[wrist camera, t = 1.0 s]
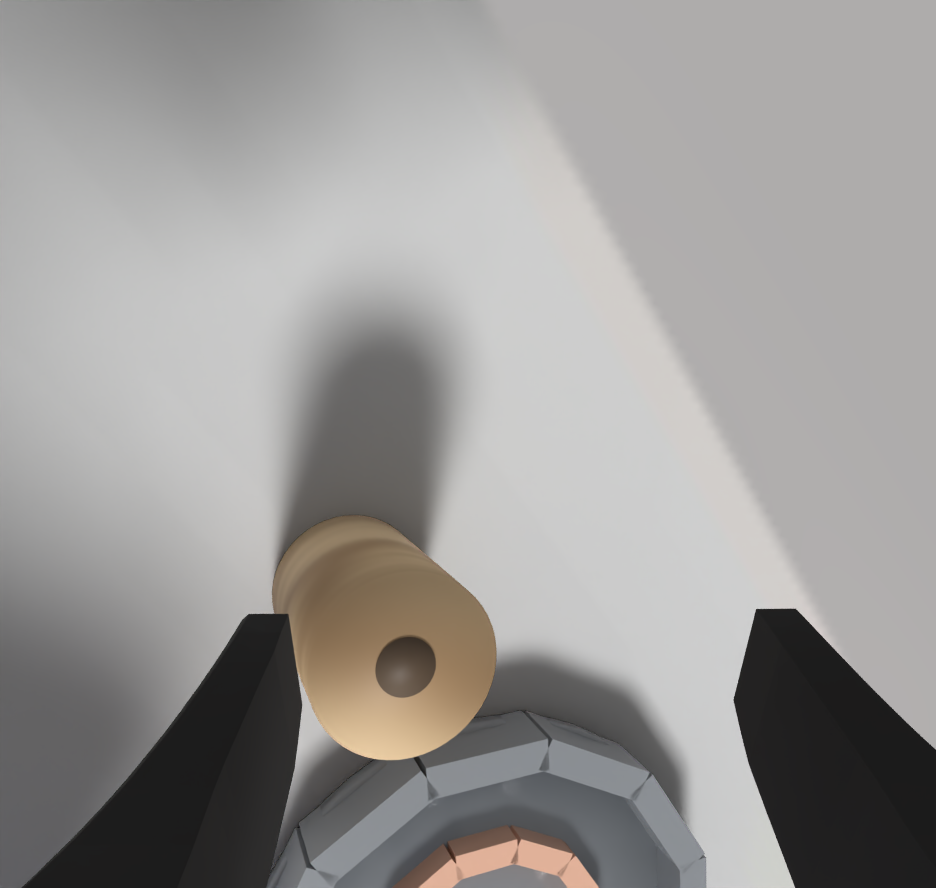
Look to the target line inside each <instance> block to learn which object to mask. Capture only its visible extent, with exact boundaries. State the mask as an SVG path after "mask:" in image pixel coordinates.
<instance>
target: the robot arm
mask: <svg viewBox="0 0 936 888" xmlns="http://www.w3.org/2000/svg"><path fill="white" fill-rule="evenodd" d="M734 704H735V708H736V713H737V717H738V722H739V726H740V730H741V735H742V739H743V743H744V747H745V750H746V754H747V758H748V762H749V765H750V768H751V771H752V774H753V776H754V779H755V782H756V785H757V787H758V790H759V793H760V795H761V798H762V801H763V804H764V806H765V809H766V812H767V814H768V817H769V820H770V822H771V825H772V828H773V830H774V833H775V835H776V838H777V841H778V843H779V846H780V849H781V851H782V854H783V857H784V859H785V862H786V864H787V867H788V870H789V872H790V875H791V878H792V880H793V883H794V886H795V888H936V750H935V749H934V748H933V747H932V746H931V745H930V744H929V743H928V742H927V741H926V740H924V739H923V738H922V737H921V736H920V735H919V734H918V733H917V732H916V731H915V730H914V729H913V728H912V727H911V726H910V725H909V724H907V723H906V722H905V721H904V720H903V719H902V718H901V717H900V716H899V715H898V714H897V713H896V712H895V711H894V710H893V709H892V708H891V707H890V706H889V705H888V704H887V703H886V702H885V701H884V700H883V699H882V698H881V697H880V696H879V695H878V694H877V693H876V692H875V691H874V690H873V689H872V688H871V687H870V686H869V685H868V684H867V683H866V682H865V681H864V680H863V679H862V678H861V677H860V676H859V675H858V674H857V673H856V671H855V670H854V669H853V668H852V667H851V666H850V665H849V664H848V663H847V662H846V661H845V660H844V659H843V658H842V657H841V656H840V655H839V654H838V653H837V652H836V651H835V649H834V648H833V647H832V646H831V645H830V644H829V643H828V642H827V641H826V640H825V639H824V638H823V637H822V636H821V635H820V634H819V633H818V632H817V631H816V629H815V628H814V627H813V626H812V625H811V624H810V623H809V622H808V621H807V620H806V619H805V618H804V617H803V616H802V615H801V614H800V613H799V612H798V611H797V610H796V609H756V612H755V616H754V620H753V624H752V628H751V632H750V636H749V640H748V644H747V648H746V652H745V656H744V660H743V664H742V668H741V672H740V676H739V680H738V684H737V688H736V692H735V696H734ZM301 711H302V700H301V694H300V687H299V680H298V674H297V667H296V660H295V654H294V647H293V640H292V634H291V627H290V620H289V614H248V615H247V616H246V617H245V618H244V619H243V620H242V621H241V623H240V624H239V626H238V628H237V629H236V631H235V633H234V634H233V636H232V637H231V639H230V641H229V642H228V644H227V645H226V647H225V648H224V650H223V651H222V653H221V655H220V656H219V658H218V659H217V661H216V662H215V664H214V665H213V667H212V668H211V669H210V671H209V672H208V674H207V675H206V677H205V678H204V680H203V681H202V683H201V684H200V686H199V687H198V688H197V690H196V691H195V692H194V694H193V695H192V697H191V698H190V699H189V701H188V702H187V703H186V705H185V706H184V707H183V709H182V710H181V712H180V713H179V714H178V716H177V717H176V718H175V720H174V721H173V723H172V724H171V725H170V726H169V728H168V729H167V730H166V732H165V733H164V734H163V736H162V737H161V738H160V739H159V740H158V742H157V743H156V744H155V745H154V747H153V748H152V749H151V750H150V752H149V753H148V754H147V755H146V756H145V758H144V759H143V760H142V761H141V763H140V764H139V765H138V766H137V768H136V769H135V770H134V771H133V772H132V774H131V775H130V776H129V777H128V778H127V780H126V781H125V782H124V783H123V784H122V785H121V787H120V788H119V789H118V790H117V791H116V792H115V793H114V795H113V796H112V797H111V798H110V799H109V800H108V801H107V802H106V803H105V805H104V806H103V807H102V808H101V809H100V810H99V811H98V812H97V813H96V814H95V815H94V816H93V817H92V819H91V820H90V821H89V822H88V823H87V824H86V825H85V826H84V827H83V828H82V829H81V830H80V831H79V832H78V833H77V834H76V835H75V836H74V837H73V838H72V839H71V840H70V841H69V842H68V843H67V844H66V845H65V846H64V847H63V848H62V849H61V850H60V851H59V852H58V853H57V854H56V855H55V856H54V857H53V858H52V859H51V860H50V861H49V862H48V863H47V864H46V865H45V866H44V867H43V868H42V869H41V870H40V871H39V872H38V873H37V874H36V875H35V876H34V877H33V878H32V879H30V880H29V881H28V882H27V883H26V884H25V885H24V886H23V887H22V888H266V886H267V882H268V878H269V874H270V870H271V866H272V861H273V857H274V853H275V849H276V845H277V841H278V837H279V832H280V828H281V824H282V820H283V816H284V811H285V807H286V803H287V799H288V794H289V790H290V786H291V782H292V777H293V773H294V768H295V760H296V753H297V745H298V737H299V728H300V720H301Z"/></svg>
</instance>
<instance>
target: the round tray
mask: <svg viewBox="0 0 936 888" xmlns="http://www.w3.org/2000/svg"><path fill="white" fill-rule="evenodd" d="M299 826H300V828H296V827H295V829H294V831H293V833H292V835H291V837H290V840H289V842H288V844H287V846H286V848H285V850H284V852H283V853H282V855H281V856H280V858H279V860H278V862H277V863H276V865H275V867H274V869H273V871H272V873H271V875H270V876H269V878H268V882H267V886H266V888H706V857H705V856H704V854H705V853H704V851H703V850H702V848H701V847H700V845H699V844H698V842H697V841H696V839H695V838H694V836H693V835H692V833H691V832H690V830H689V829H688V827H687V826H686V824H685V823H684V821H683V820H682V818H681V817H680V815H679V814H678V812H677V810H676V809H675V807H674V806H673V804H672V803H671V801H670V800H669V798H668V797H667V795H666V794H665V792H664V791H663V789H662V788H661V786H660V785H659V783H658V782H657V780H656V779H655V777H654V776H653V774H652V773H651V772H649V771H648V770H647V769H646V768H645V767H644V766H643V765H642V764H641V763H640V762H638V761H637V760H636V759H635V758H634V757H633V756H632V755H631V754H630V753H629V752H628V751H626V750H625V749H624V748H623V747H622V746H621V745H619V744H618V743H616V742H614V741H611V740H608V739H605V738H602V737H600V736H598V735H597V734H595V733H592V732H590V731H588V730H586V729H583V728H581V727H579V726H577V725H574V724H571V723H567V722H564V721H560V720H556V719H552V718H548V717H543V716H540V715H537V714H534V713H531V712H528V711H525V713H523V712H522V711H521V710H520V711H516V712H511V713H507V714H503V715H493V716H487V717H481V718H474V719H472V720H471V721H470V722H469V724H468V725H467V726H466V727H465V728H464V729H463V730H462V731H461V732H459V733H458V734H457V735H456V736H455V737H453V738H452V739H451V740H449V741H448V742H447V743H445V744H443V745H442V746H440V747H438V748H436V749H434V750H432V751H430V752H428V753H425V754H422V755H419V756H416V757H412V758H407V759H401V760H379V759H374V760H373V761H372V762H370V763H369V764H368V765H366V766H365V767H363V768H362V769H361V770H359V771H358V772H357V773H355V774H354V775H352V776H351V777H350V778H348V779H347V780H346V781H345V782H344V783H343V784H342V785H341V786H340V787H339V788H338V789H336V790H335V791H334V792H333V793H332V794H331V795H330V796H329V797H328V798H327V799H325V800H324V801H323V802H322V804H321V805H320V806H319V807H317V808H316V809H315V810H314V811H313V812H311V813H310V814H309V815H308V816H306V817H305V818H304V819H303V820H302V821H300V822H299Z"/></svg>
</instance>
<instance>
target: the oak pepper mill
mask: <svg viewBox="0 0 936 888" xmlns="http://www.w3.org/2000/svg"><path fill="white" fill-rule="evenodd" d="M272 603H273V609H274V613H275V614H289V620H290V627H291V634H292V640H293V647H294V654H295V660H296V667H297V671H298V674H299V676H300V678H301V681H302V683H303V686H304V688H305V691H306V693H307V696H308V698H309V700H310V703H311V705H312V708H313V710H314V712H315V714H316V716H317V718H318V721H319V722H320V724H321V725H322V726H323V728H324V729H325V731H326V732H327V733H328V734H329V735H330V736H331V737H332V738H333V739H334V740H335V741H336V742H338V743H339V744H340V745H341V746H343V747H344V748H346V749H348V750H350V751H352V752H353V753H356V754H359V755H361V756H364V757H368V758H373V759H379V760H401V759H407V758H412V757H416V756H419V755H422V754H425V753H428V752H430V751H432V750H434V749H436V748H438V747H440V746H442V745H443V744H445V743H447V742H448V741H449V740H451V739H452V738H453V737H455V736H456V735H457V734H458V733H459V732H461V731H462V730H463V729H464V728H465V727H466V726H467V725H468V724H469V722H470V721H471V720H472V719H473V718H474V716H475V715H476V714H477V712H478V711H479V709H480V708H481V706H482V704H483V702H484V700H485V699H486V697H487V694H488V692H489V689H490V687H491V684H492V681H493V677H494V673H495V666H496V642H495V635H494V631H493V628H492V625H491V622H490V620H489V617H488V615H487V613H486V612H485V610H484V608H483V607H482V605H481V604H480V603H479V602H478V600H477V599H476V598H475V597H474V596H473V595H472V594H471V593H470V592H469V591H468V590H467V589H466V588H464V587H463V586H462V585H461V584H460V583H459V582H457V581H456V580H455V579H454V578H453V577H452V576H450V575H449V574H448V573H447V572H446V571H445V570H443V569H442V568H441V567H440V566H439V565H438V564H436V563H435V562H434V561H433V560H432V559H431V558H429V557H428V556H427V555H426V554H425V553H423V552H422V551H421V550H420V549H419V548H418V547H416V546H415V545H414V544H413V543H412V542H411V541H409V540H408V539H407V538H406V537H405V536H404V535H402V534H401V533H400V532H399V531H398V530H396V529H395V528H394V527H392V526H391V525H389V524H387V523H385V522H383V521H381V520H378V519H375V518H372V517H367V516H360V515H347V516H340V517H335V518H331V519H328V520H325V521H323V522H321V523H319V524H316V525H314V526H313V527H311V528H310V529H308V530H307V531H305V532H304V533H303V534H302V535H300V536H299V537H298V538H297V539H296V540H295V541H294V542H293V543H292V544H291V545H290V547H289V548H288V550H287V551H286V552H285V554H284V556H283V557H282V559H281V561H280V563H279V565H278V568H277V570H276V573H275V577H274V581H273V589H272Z"/></svg>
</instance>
